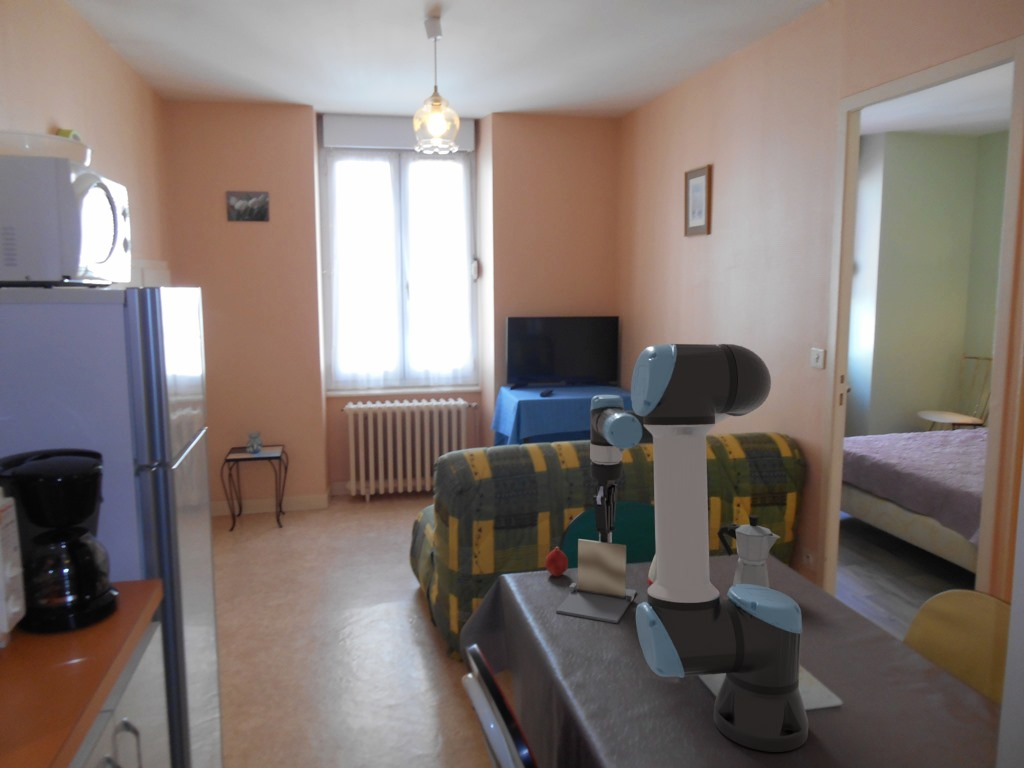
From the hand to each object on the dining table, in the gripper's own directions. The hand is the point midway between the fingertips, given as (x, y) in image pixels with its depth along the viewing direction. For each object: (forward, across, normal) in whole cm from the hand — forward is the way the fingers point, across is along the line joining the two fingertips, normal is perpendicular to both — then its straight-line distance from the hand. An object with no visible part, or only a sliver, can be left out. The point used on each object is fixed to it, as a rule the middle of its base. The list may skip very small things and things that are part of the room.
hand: (605, 558), depth 171 cm
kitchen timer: (+9, +12, -15) cm, 21 cm away
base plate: (+9, -6, 0) cm, 10 cm away
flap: (+8, -3, 0) cm, 8 cm away
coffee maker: (+9, +17, -31) cm, 37 cm away
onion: (+9, +5, +14) cm, 17 cm away
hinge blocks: (+8, -3, 0) cm, 9 cm away
